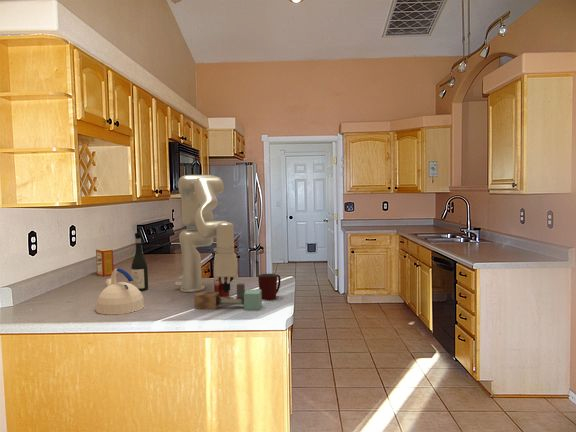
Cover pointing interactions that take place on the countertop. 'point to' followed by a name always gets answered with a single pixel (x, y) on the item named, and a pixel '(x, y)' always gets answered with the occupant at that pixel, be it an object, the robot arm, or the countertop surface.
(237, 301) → the slide bolt
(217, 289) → the soda can
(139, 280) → the wine bottle
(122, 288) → the kettle
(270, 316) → the countertop surface
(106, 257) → the baking soda box
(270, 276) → the mug
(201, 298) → the guide sleeve
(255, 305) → the socket block
